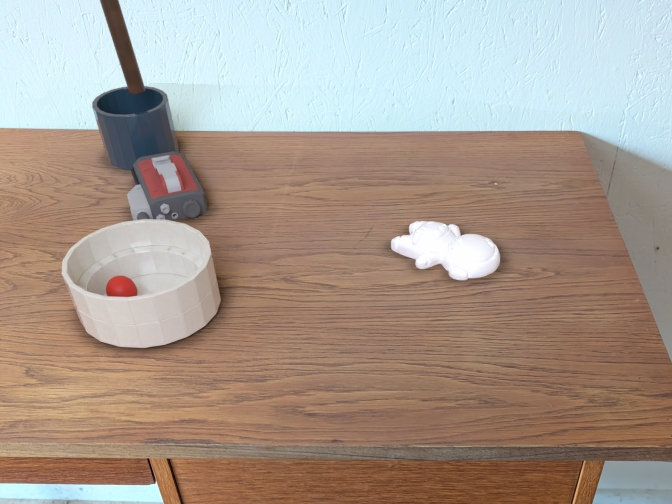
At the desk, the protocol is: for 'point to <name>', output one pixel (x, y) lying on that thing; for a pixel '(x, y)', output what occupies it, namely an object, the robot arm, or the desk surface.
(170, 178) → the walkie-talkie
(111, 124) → the crock
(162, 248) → the bowl
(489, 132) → the desk surface
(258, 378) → the desk surface
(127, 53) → the stick
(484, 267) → the white animal figurine
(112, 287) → the red ball
